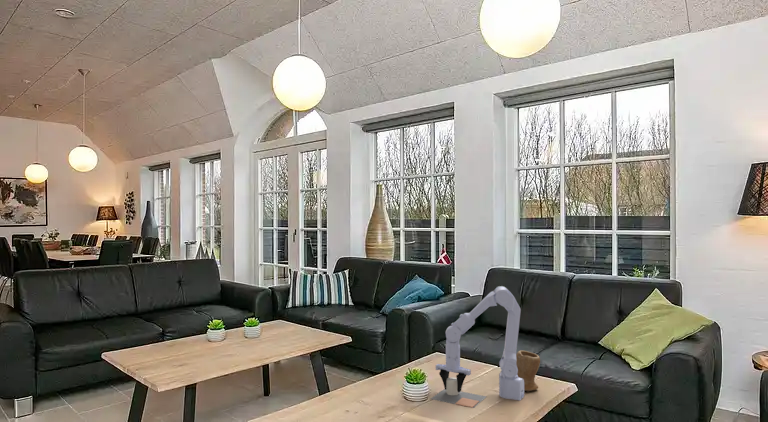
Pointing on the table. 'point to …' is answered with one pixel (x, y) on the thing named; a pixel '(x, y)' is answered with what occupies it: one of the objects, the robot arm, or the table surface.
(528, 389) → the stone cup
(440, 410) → the table surface
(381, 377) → the table surface
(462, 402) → the terracotta pad
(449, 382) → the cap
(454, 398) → the base board
